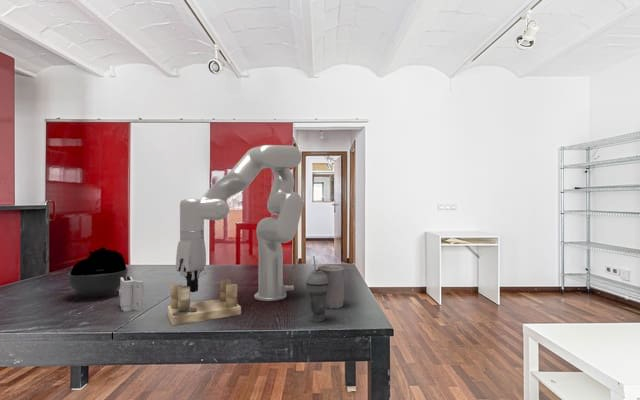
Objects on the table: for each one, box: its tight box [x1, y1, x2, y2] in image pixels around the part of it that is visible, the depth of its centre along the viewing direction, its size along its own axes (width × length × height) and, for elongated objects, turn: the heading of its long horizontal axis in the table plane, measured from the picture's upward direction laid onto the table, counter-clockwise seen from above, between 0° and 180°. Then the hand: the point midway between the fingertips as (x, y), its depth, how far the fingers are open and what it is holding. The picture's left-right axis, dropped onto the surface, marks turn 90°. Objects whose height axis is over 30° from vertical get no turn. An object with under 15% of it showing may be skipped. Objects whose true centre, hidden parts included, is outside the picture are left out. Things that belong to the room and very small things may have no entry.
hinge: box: [118, 275, 145, 313], centre depth 116 cm, size 14×5×10 cm, turn 47°
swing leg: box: [178, 285, 197, 312], centre depth 105 cm, size 7×4×7 cm, turn 68°
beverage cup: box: [305, 255, 329, 323], centre depth 105 cm, size 7×7×20 cm
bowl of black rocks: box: [67, 246, 128, 298], centre depth 132 cm, size 20×20×19 cm
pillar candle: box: [317, 263, 345, 310], centre depth 120 cm, size 10×10×15 cm
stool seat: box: [167, 278, 242, 326], centre depth 110 cm, size 21×13×10 cm, turn 120°
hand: (192, 291), depth 109 cm, fingers closed
